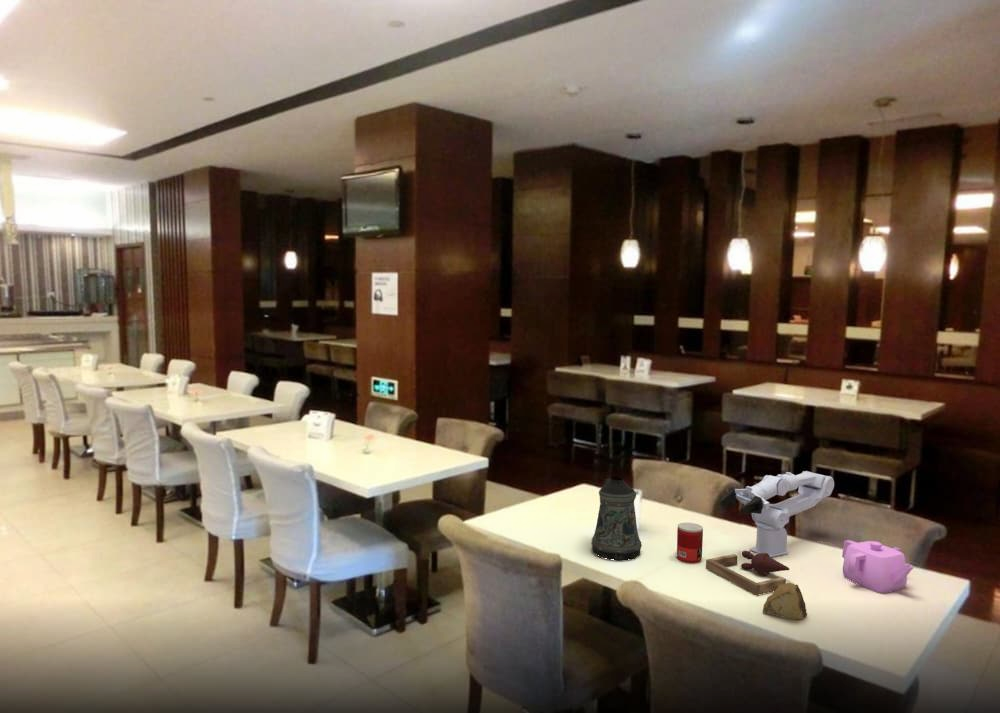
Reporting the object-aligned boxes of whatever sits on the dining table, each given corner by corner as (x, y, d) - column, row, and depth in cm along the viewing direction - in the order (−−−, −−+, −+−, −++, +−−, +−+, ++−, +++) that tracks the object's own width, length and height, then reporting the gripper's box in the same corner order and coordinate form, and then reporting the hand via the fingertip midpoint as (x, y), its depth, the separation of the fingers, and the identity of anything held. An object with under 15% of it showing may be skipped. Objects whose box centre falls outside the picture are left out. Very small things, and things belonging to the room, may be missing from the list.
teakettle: (839, 567, 215) (841, 530, 214) (900, 575, 209) (902, 537, 208) (846, 589, 199) (848, 548, 198) (912, 598, 193) (915, 557, 192)
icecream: (794, 556, 207) (747, 548, 217) (785, 557, 202) (736, 548, 212) (793, 580, 206) (745, 570, 216) (784, 581, 201) (735, 571, 211)
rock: (754, 607, 182) (790, 615, 175) (760, 576, 186) (797, 582, 178) (771, 621, 188) (807, 629, 180) (777, 591, 191) (812, 597, 184)
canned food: (702, 564, 216) (704, 531, 215) (677, 562, 218) (678, 529, 217) (700, 555, 224) (701, 523, 223) (675, 553, 226) (676, 521, 225)
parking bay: (733, 563, 218) (734, 554, 217) (785, 588, 199) (786, 579, 198) (705, 568, 213) (706, 559, 213) (755, 595, 194) (756, 585, 194)
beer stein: (620, 565, 215) (621, 489, 213) (574, 548, 230) (576, 476, 227) (651, 553, 226) (653, 479, 224) (606, 537, 240) (607, 468, 238)
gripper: (739, 476, 226) (712, 488, 219) (777, 489, 215) (751, 502, 207) (739, 495, 228) (713, 508, 221) (777, 509, 216) (751, 523, 209)
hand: (731, 507), depth 214 cm, fingers open, 7 cm apart
